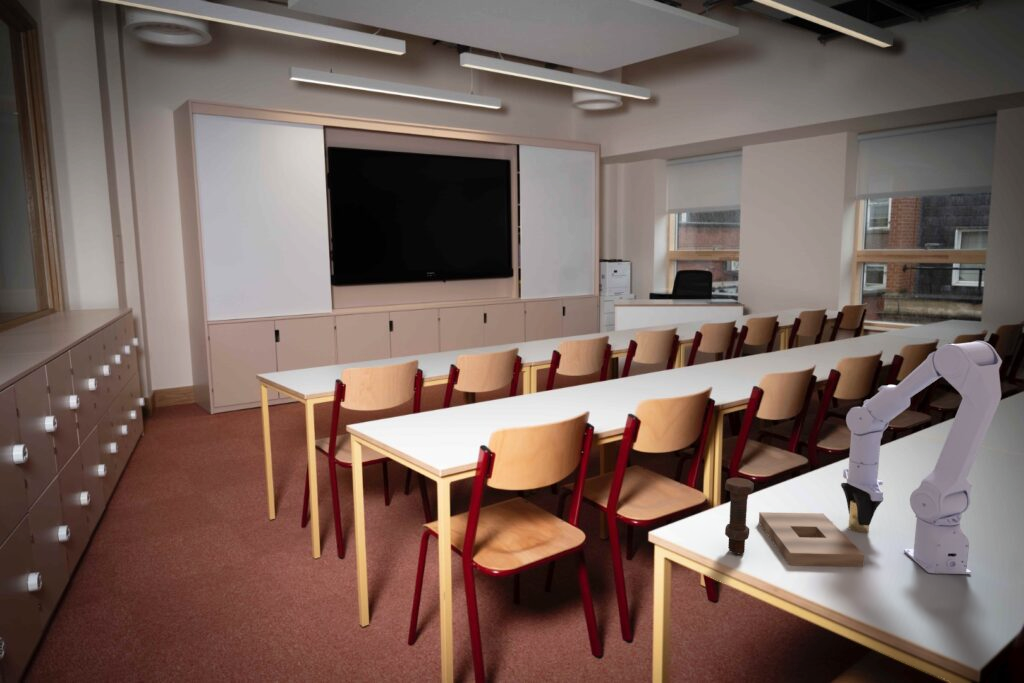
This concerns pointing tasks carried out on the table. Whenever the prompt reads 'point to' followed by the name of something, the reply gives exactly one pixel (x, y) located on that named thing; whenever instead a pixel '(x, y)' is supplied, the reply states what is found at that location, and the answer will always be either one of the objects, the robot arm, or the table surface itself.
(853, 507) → the pin
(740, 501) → the bolt
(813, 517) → the slot block
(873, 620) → the table surface
